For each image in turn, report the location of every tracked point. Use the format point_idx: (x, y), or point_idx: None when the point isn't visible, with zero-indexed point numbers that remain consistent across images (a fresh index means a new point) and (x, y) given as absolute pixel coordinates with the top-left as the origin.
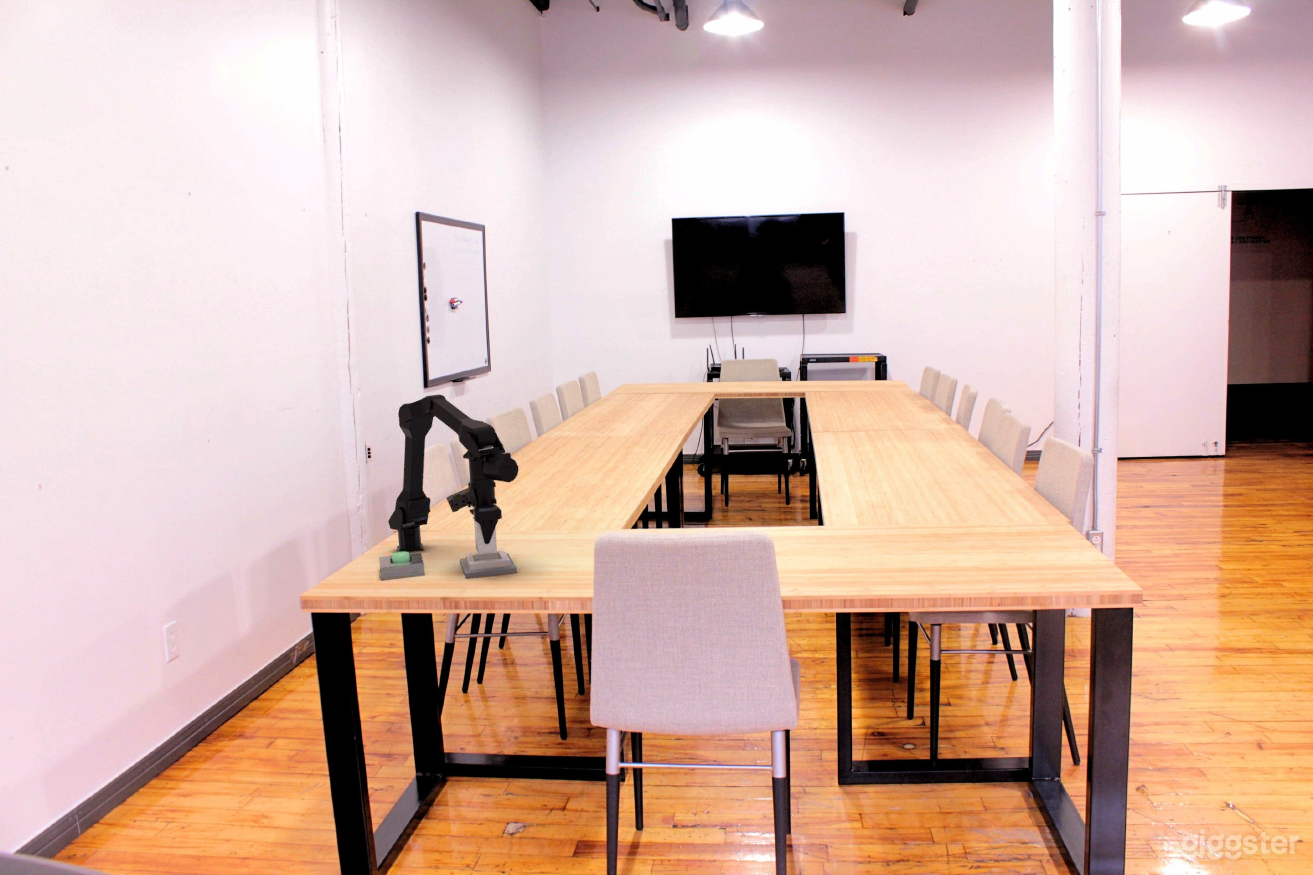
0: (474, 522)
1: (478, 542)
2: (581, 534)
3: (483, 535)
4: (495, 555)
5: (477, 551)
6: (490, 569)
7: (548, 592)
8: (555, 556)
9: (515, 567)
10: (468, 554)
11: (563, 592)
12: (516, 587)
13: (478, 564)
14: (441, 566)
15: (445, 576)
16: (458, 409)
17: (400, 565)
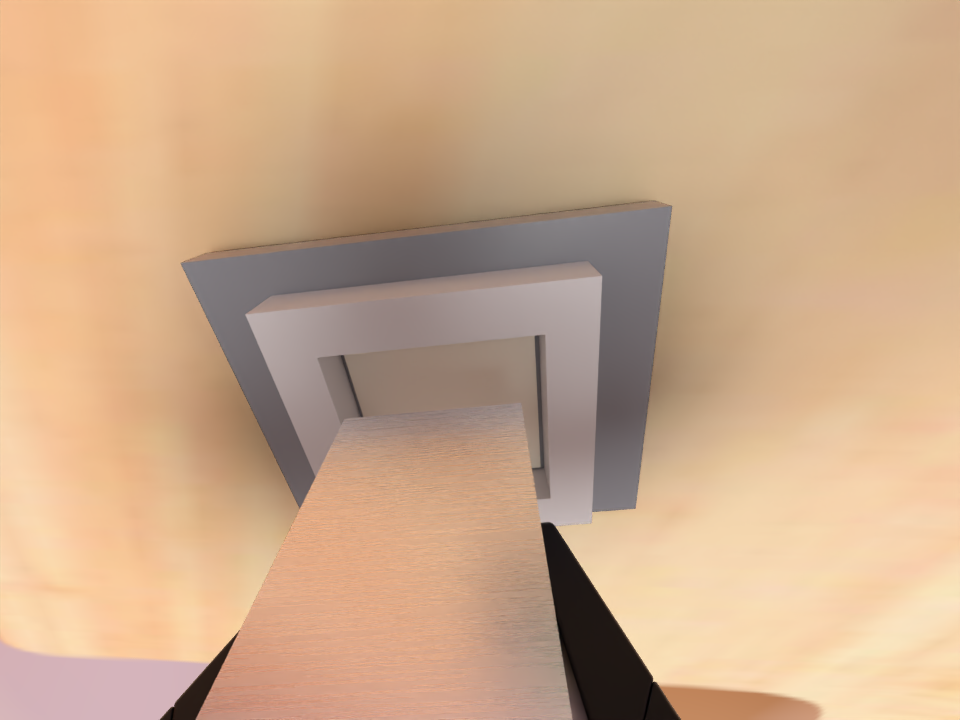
0: None
1: (309, 508)
2: (842, 688)
3: (229, 645)
4: (546, 465)
5: (384, 417)
6: (287, 422)
7: (30, 586)
8: None
9: None
10: (586, 303)
11: (44, 619)
12: (77, 499)
13: (280, 375)
14: (665, 6)
15: (303, 68)
16: None
17: None
